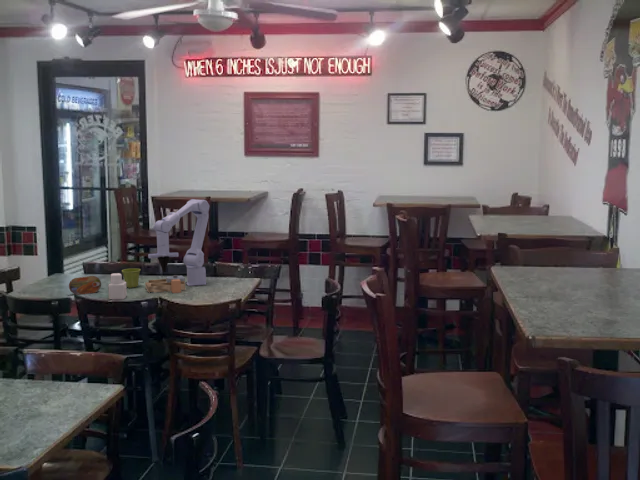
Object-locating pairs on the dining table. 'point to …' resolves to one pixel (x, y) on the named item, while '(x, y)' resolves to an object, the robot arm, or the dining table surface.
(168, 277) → the slate cover
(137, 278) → the plant pot
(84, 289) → the tin
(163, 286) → the puzzle board
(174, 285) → the terracotta block
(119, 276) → the medicine bottle
